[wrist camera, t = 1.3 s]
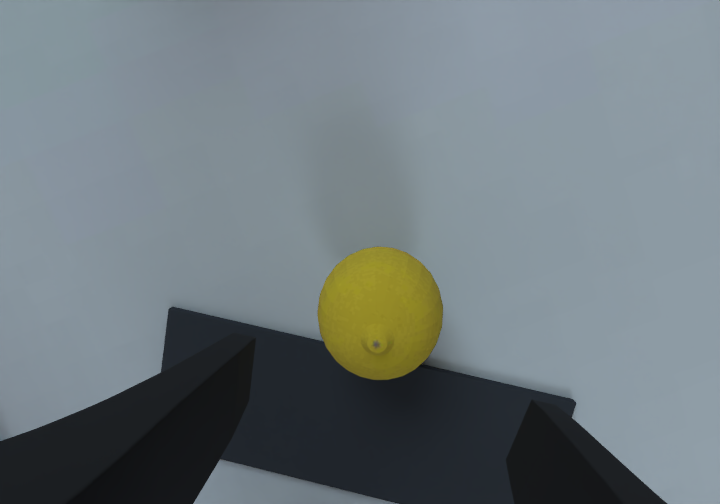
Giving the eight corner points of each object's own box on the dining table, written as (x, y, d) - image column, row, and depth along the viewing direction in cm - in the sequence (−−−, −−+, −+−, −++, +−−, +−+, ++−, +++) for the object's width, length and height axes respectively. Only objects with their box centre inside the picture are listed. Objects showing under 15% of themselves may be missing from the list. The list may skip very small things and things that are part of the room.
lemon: (336, 234, 20) (300, 258, 12) (436, 242, 19) (468, 272, 11) (330, 328, 20) (294, 409, 13) (426, 337, 20) (449, 427, 12)
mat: (528, 530, 21) (531, 537, 21) (156, 437, 23) (152, 442, 22) (572, 399, 20) (576, 403, 20) (172, 306, 21) (168, 308, 21)
